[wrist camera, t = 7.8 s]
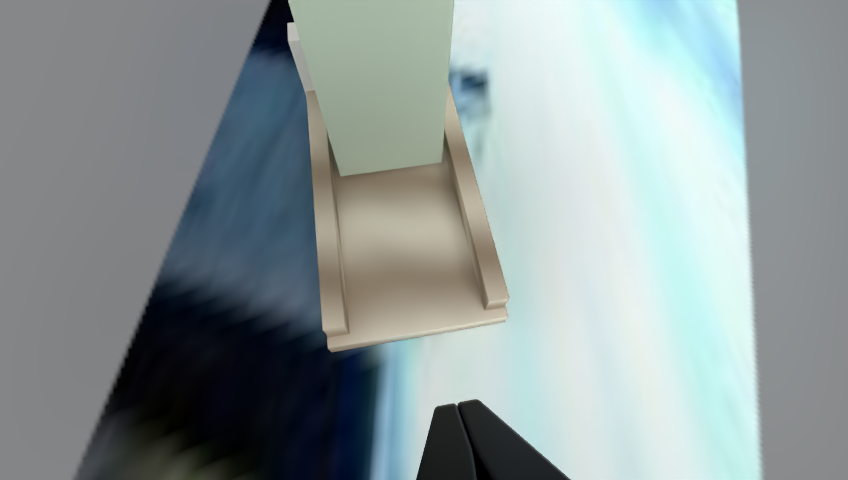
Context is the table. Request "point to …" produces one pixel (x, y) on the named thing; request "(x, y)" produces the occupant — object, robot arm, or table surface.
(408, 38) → the sliding block
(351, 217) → the birch rail
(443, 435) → the robot arm
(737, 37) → the table surface
